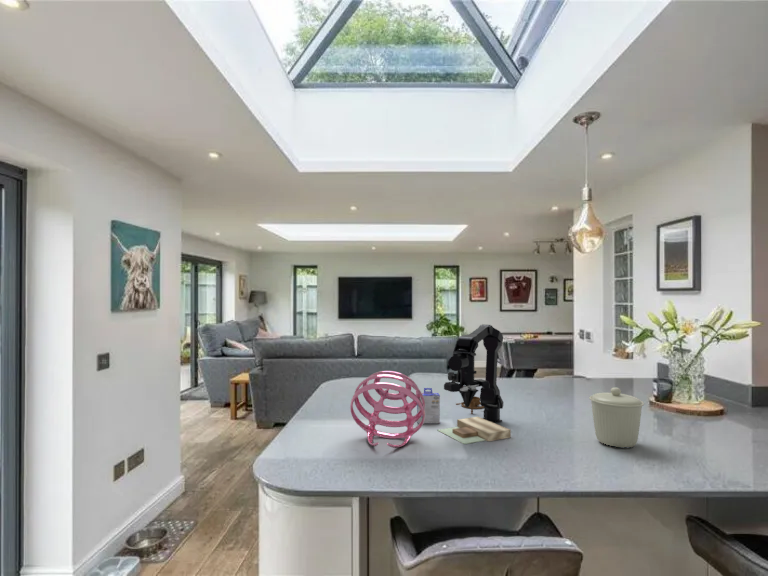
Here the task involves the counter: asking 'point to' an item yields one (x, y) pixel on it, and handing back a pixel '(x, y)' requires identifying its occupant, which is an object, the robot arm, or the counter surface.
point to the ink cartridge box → (430, 407)
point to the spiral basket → (381, 407)
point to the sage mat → (462, 440)
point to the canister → (616, 418)
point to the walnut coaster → (465, 432)
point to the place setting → (473, 404)
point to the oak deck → (485, 428)
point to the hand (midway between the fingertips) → (466, 407)
